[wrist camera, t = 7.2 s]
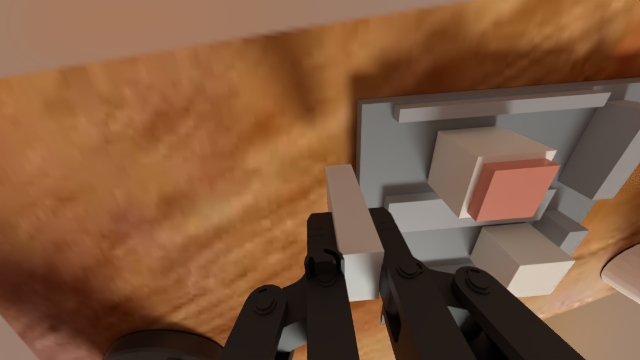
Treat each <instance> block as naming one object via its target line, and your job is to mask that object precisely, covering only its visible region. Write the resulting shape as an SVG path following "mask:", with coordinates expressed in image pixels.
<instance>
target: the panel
mask: <svg viewBox="0 0 640 360" xmlns="http://www.w3.org/2000/svg"><path fill="white" fill-rule="evenodd" d="M490 126H500V127H503V128H505V129H508V130H510V131H512V132H515V133H517V134H519V135H522V136H524V137H527V138H529V139H531V140H534V141H536V142H538V143H541V144H543V145H546V146H548V147H550V148H553V149H555V150H557V151H556V153H555V155H554V157H553V159H552V161H553V162H555V163H557V164H559V165H561V166H560V168H559V169H558V171H557V173H556V175H555V177H554V179H553V181H552V182H551V184H550V186H549V188H548V190H547V192H546V193H545V195H544V197H543V199H542V201H541V203H540V205H539V206H538V208H537V210H536V212H535V214H534V216H533V217H524V218H513V219H501V220H490V221H479V222H476V221H475V220H474V219H473V218H472V217H469V218H458V217H457V216H456V215H455V214H454V213H453V212H452V210H451V209H450V208H449V207H448V206H447V205H446V204H445V202H444V201H443V200H442V199H441V198H440V197H439V196H438V195H437V193H436V192H435V191H434V190H433V189H432V188H431V187H430V185H429V184H428V183H427V182H428V177H429V172H430V168H431V163H432V158H433V153H434V149H435V144H436V139H437V134H438V131H441V130H454V129H466V128H478V127H490ZM639 163H640V77H635V78H623V79H610V80H597V81H585V82H572V83H559V84H547V85H534V86H521V87H509V88H496V89H483V90H471V91H458V92H445V93H433V94H420V95H407V96H395V97H382V98H369V99H357V140H356V179H357V182H358V184H359V187H360V189H361V192H362V195H363V197H364V200H365V202H366V205H367V208H377V207H384V208H385V209H387V210H388V211H389V212H390V213H391V214H392V216H393V218H394V220H395V223H396V224H397V226H398V228H399V230H400V232H401V234H402V236H403V238H404V240H405V241H406V243H407V245H408V247H409V249H410V251H411V253H412V255H413V256H414V257H415V258H417V259H418V260H420V261H421V262H422V263H423V264H424V265H425V267H427V268H430V269H433V270H436V271H441V272H447V273H452V274H455V272H456V270H457V269H459V268H460V267H464V266H472V267H476V266H475V265H474V263H473V262H472V261H471V260H470V256H471V254H472V251H473V249H474V246H475V244H476V242H477V239H478V237H479V234H480V232H481V229H482V227H486V226H497V225H509V224H520V223H529V224H530V225H532V226H533V227H534V228H535V229H537V230H538V231H539V232H540V233H542V234H543V235H544V236H545V237H547V238H548V239H549V240H550V241H552V242H553V243H554V244H555V245H557V246H558V247H559V248H560V249H562V250H563V251H564V252H565V253H567V254H568V255H569V256H571V255H572V254H573V252H574V251H575V249H576V248H577V247H578V245H579V244H580V243H581V241H582V240H583V239H584V237H585V236H586V235H587V233H588V232H589V230H588V229H586V228H585V227H583V226H582V225H580V224H581V222H582V221H583V220H584V218H585V217H586V215H587V214H588V212H589V211H590V209H591V208H592V207H593V205H594V204H595V202H596V201H597V199H609V198H614V196H615V195H616V194H617V192H618V191H619V190H620V188H621V187H622V186H623V184H624V183H625V182H626V180H627V179H628V177H629V176H630V175H631V173H632V172H633V171H634V169H635V168H636V167H637V165H638V164H639Z"/></svg>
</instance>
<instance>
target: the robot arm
mask: <svg viewBox="0 0 640 360" xmlns="http://www.w3.org/2000/svg"><path fill="white" fill-rule="evenodd" d="M325 169H326V188H327V205H328V212H325V213H313V214H311V215H310V217H309V218H308V220H307V256H306V257H305V262H304V266H305V274H304V275H303V277H302V278H301V279H300V280H298V281H297V282H295V283H293V284H291V285H289V286H287V287H284V288H282V289H281V288H280V287H278V286H276V285H273V284H271V285H263V286H261V287H258V288H257V289H255V290H254V291H253V292H252V293H251V294H250V295H249V297H248V298H247V299H246V301H245V303H244V305H243V308H242V310H241V312H240V314H239V316H238V318H237V320H236V322H235V325H234V327H233V329H232V331H231V333H230V335H229V337H228V339H227V342H226V344H225V346H224V348H223V349H222V348H221V347H220V346H219V345H217V344H215V343H214V342H212V341H210V340H207V339H205V338H202V337H199V336H196V335H192V334H188V333H183V332H175V331H143V332H137V333H132V334H129V335H126V336H123V337H121V338H119V339H118V340H116V341H115V342H114V343H113V344H112V345H111V346H110V348H109V349H108V351H107V353H106V354H105V356H104V357H103V359H102V360H292V358H293V354H294V349H295V348H297V347H299V346H301V345H303V344H305V343H307V360H359V354H358V348H357V342H356V337H355V331H354V325H353V320H352V314H351V308H350V303H349V301H359V300H370V299H379V291H380V295H381V298H382V301H383V305H382V312H381V325H383V324H384V321H385V323H386V327H387V330H388V334H389V337H390V341H391V344H392V348H393V351H394V355H395V358H396V360H585V359H584V358H583V357H582V356H581V355H580V354H579V353H577V351H575V350H574V349H573V348H572V347H571V346H570V345H569V344H568V343H567V342H565V341H564V340H563V339H562V338H561V337H560V336H559V335H558V334H556V333H555V332H554V331H553V330H552V329H551V328H550V327H549V326H548V325H547V324H545V323H544V322H543V321H542V320H541V319H540V318H539V317H538V316H537V315H535V314H534V313H533V312H532V311H531V310H530V309H529V308H528V307H527V306H525V305H524V304H523V303H522V302H521V301H520V300H519V299H518V298H517V297H515V296H514V295H513V294H512V293H511V292H510V291H509V290H508V289H507V288H505V287H504V286H503V285H502V284H501V283H500V282H499V281H498V280H497V279H495V278H494V277H493V276H492V275H490V274H489V273H487V272H486V271H484V270H482V269H479V268H477V267H472V266H464V267H460V268H459V269H457V270H456V272H455V274H452V273H447V272H441V271H436V270H433V269H430V268H427V267H425V265H424V264H423V263H422V262H421V261H420V260H418V259H417V258H415V257H414V256H413V255H412V253H411V251H410V249H409V247H408V245H407V243H406V241H405V240H404V238H403V236H402V234H401V232H400V230H399V228H398V226H397V224H396V223H395V220H394V218H393V216H392V214H391V213H390V212H389V211H388V210H387V209H385V208H384V207H377V208H367V205H366V202H365V200H364V197H363V195H362V192H361V189H360V187H359V184H358V182H357V179H356V176H355V174H354V171H353V169H352V166H351V164H345V165H332V166H325Z"/></svg>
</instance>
